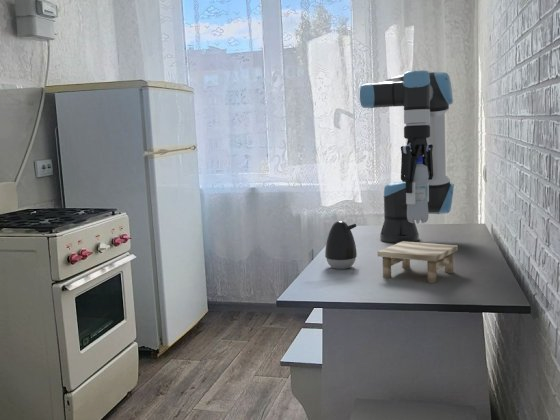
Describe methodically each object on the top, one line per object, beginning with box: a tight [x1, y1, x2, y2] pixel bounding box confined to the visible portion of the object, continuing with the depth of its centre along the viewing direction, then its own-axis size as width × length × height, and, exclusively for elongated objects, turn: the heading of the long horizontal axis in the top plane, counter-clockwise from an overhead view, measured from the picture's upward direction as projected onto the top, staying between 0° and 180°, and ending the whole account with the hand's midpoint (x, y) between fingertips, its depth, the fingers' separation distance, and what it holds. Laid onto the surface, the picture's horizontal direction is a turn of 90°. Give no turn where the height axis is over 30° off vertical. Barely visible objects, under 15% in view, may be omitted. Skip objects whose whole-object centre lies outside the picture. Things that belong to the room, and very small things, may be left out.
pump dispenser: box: [324, 220, 358, 270], centre depth 197 cm, size 10×10×15 cm
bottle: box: [407, 156, 429, 224], centre depth 181 cm, size 7×7×20 cm
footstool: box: [377, 241, 459, 284], centre depth 184 cm, size 18×18×8 cm
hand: (417, 202), depth 182 cm, fingers closed on bottle, 6 cm apart
